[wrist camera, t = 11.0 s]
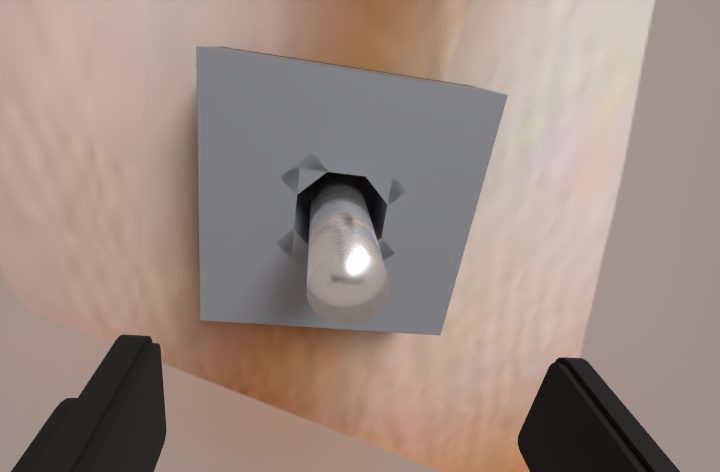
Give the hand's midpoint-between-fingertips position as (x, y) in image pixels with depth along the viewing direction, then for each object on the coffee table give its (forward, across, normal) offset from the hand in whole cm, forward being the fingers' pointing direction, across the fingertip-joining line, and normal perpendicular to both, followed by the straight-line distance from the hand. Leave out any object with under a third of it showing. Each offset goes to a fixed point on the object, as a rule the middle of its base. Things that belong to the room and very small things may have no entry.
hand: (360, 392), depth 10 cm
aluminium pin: (+16, 0, +1) cm, 16 cm away
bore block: (+17, 0, +1) cm, 17 cm away
